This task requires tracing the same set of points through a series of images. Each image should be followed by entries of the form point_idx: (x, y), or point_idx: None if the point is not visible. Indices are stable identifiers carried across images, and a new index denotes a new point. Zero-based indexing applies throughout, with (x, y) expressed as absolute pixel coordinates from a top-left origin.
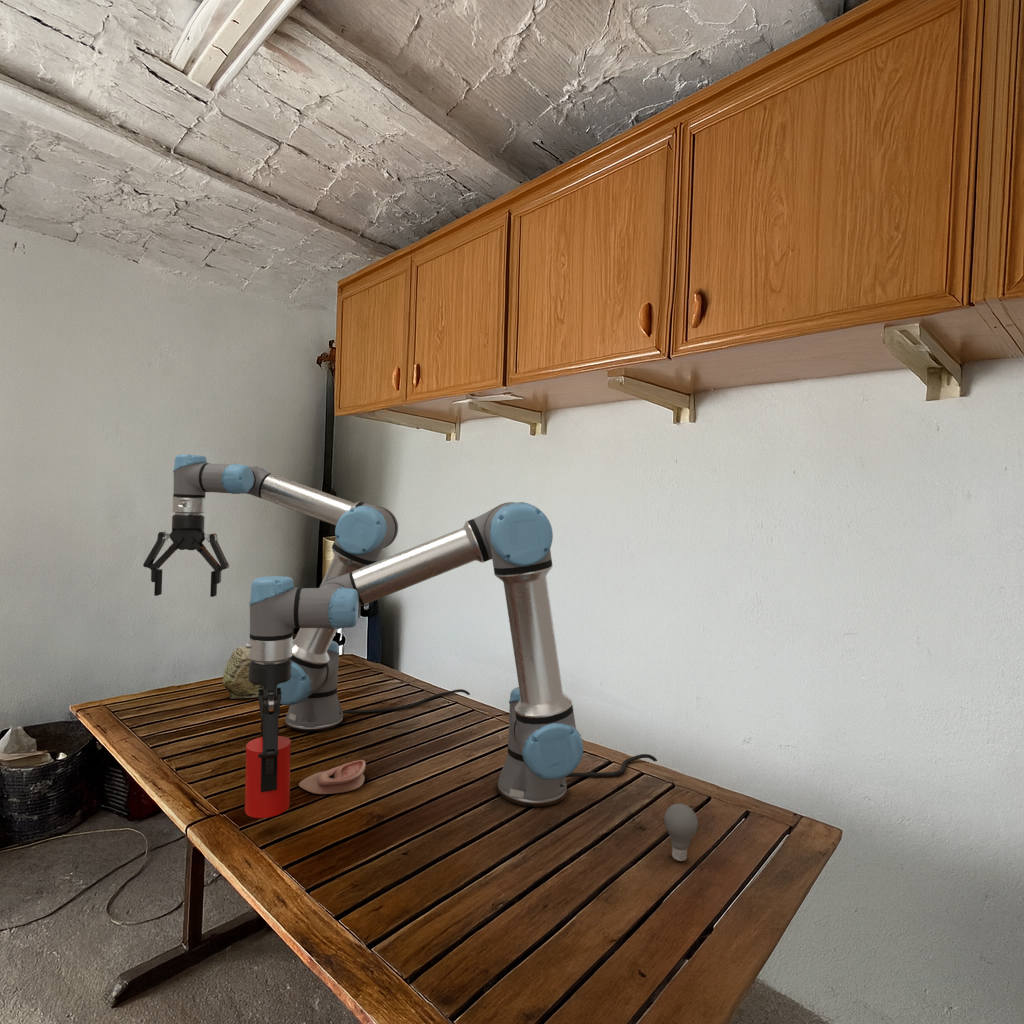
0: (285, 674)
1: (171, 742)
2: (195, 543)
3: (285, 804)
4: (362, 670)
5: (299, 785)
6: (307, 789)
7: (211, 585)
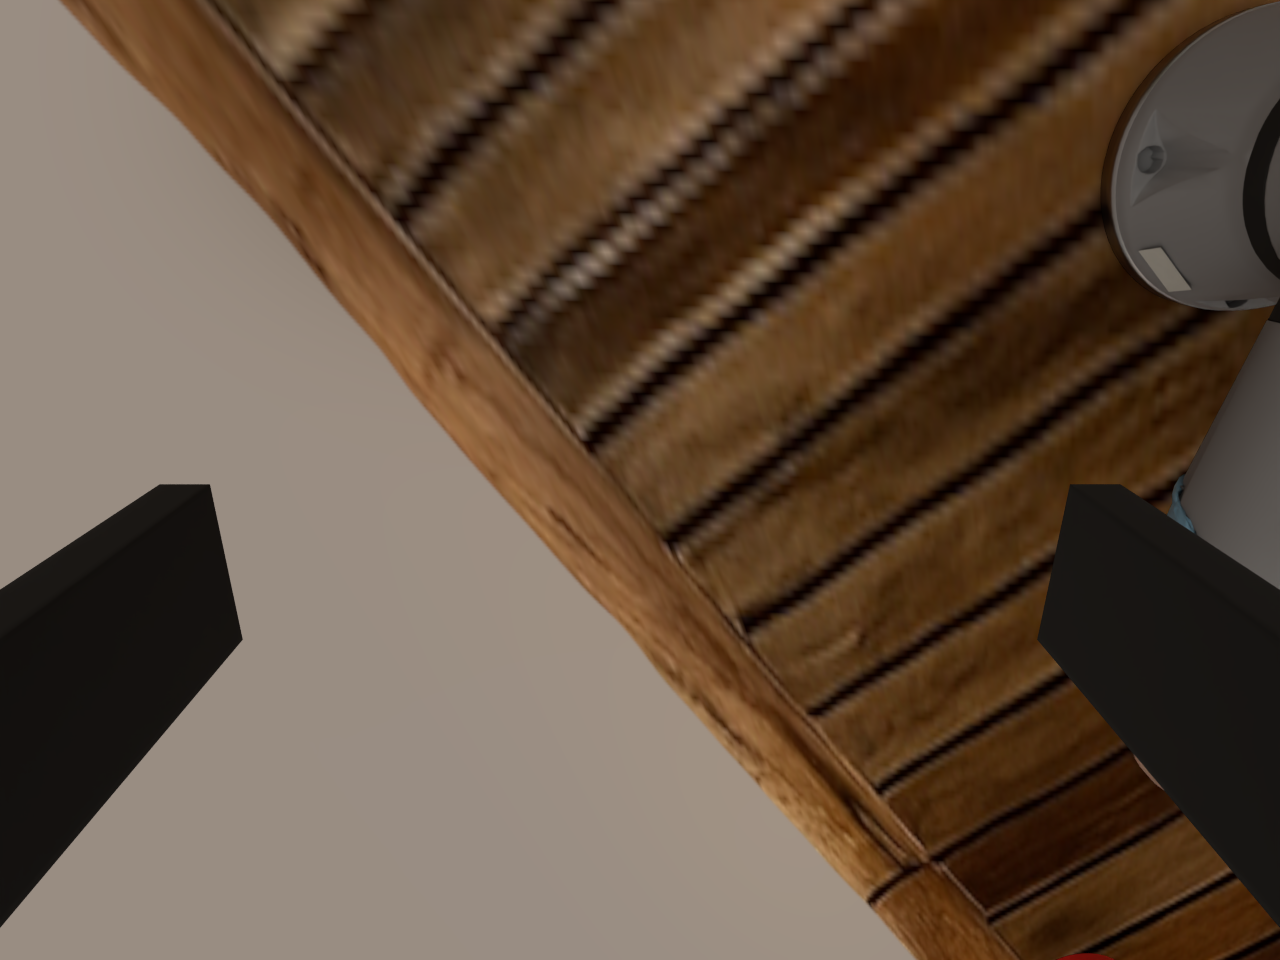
0: None
1: (643, 396)
2: None
3: None
4: None
5: (1136, 759)
6: (1158, 784)
7: (1160, 769)
